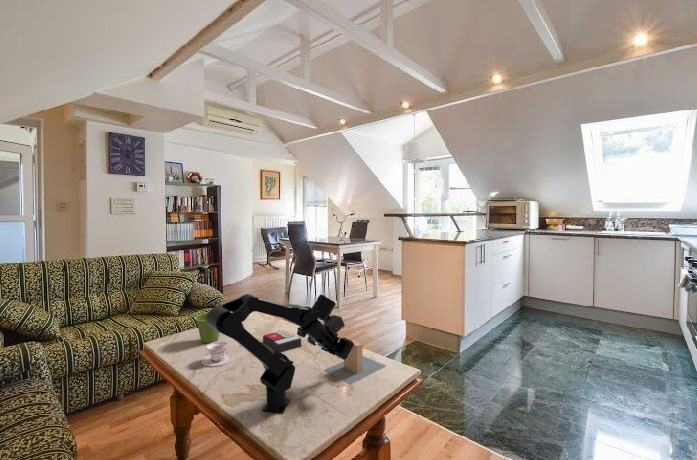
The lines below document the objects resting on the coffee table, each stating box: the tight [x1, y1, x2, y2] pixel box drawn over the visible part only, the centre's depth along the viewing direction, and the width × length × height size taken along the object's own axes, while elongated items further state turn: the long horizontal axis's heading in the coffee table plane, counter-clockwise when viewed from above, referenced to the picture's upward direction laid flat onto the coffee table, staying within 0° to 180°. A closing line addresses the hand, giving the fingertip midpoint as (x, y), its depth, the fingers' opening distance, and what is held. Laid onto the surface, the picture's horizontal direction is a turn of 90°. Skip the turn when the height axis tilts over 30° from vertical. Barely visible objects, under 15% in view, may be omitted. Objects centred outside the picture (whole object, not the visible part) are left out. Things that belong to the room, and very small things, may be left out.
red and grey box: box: [262, 329, 302, 353], centre depth 149 cm, size 11×4×15 cm
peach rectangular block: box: [343, 338, 363, 374], centre depth 124 cm, size 3×7×10 cm, turn 43°
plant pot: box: [194, 311, 220, 344], centre depth 153 cm, size 12×12×11 cm
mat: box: [324, 355, 387, 385], centre depth 125 cm, size 18×14×1 cm
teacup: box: [200, 340, 235, 368], centre depth 134 cm, size 12×12×6 cm
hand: (342, 353), depth 120 cm, fingers closed
